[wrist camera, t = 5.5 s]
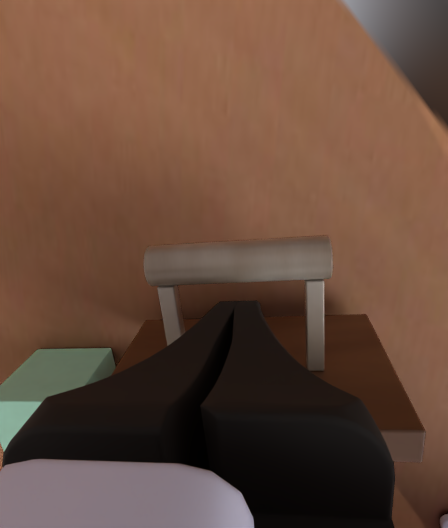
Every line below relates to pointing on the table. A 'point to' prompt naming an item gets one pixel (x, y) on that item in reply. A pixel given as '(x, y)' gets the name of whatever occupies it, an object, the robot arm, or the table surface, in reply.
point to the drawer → (287, 323)
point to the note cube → (48, 382)
